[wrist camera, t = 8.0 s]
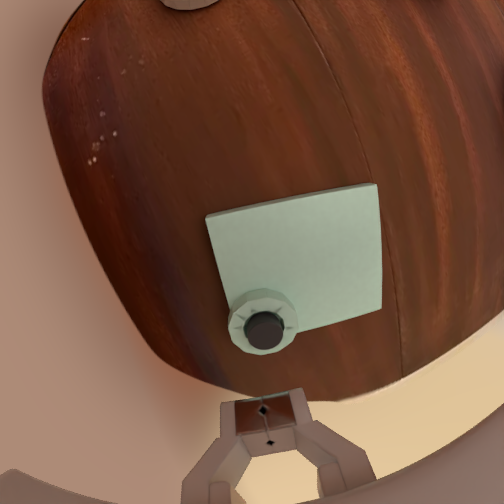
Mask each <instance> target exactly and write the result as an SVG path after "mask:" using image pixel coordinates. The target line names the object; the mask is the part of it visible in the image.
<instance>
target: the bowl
mask: <svg viewBox="0 0 504 504" xmlns="http://www.w3.org/2000/svg"><path fill="white" fill-rule="evenodd" d="M160 1H161V2H162V3H163V4H164V5H166V6H168V7H171V8H174V9H177V10H193V9H197V8H202V7H205V6H208V5H210V4H212V3H214V2H217V1H218V0H160Z"/></svg>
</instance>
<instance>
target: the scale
mask: <svg viewBox="0 0 504 504" xmlns="http://www.w3.org/2000/svg"><path fill="white" fill-rule="evenodd" d="M205 221H206V224H207V228H208V232H209V236H210V240H211V244H212V247H213V251H214V255H215V259H216V262H217V266H218V270H219V273H220V277H221V280H222V284H223V287H224V291H225V295H226V298H227V302H228V305H229V308H230V313H229V316H228V330H229V333H230V336H231V339H232V342H233V343H234V344H235V345H237V346H238V347H239V348H240V349H242V350H243V351H244V352H248V353H253V354H258V355H264V354H269V353H273V352H278V351H280V350H281V349H282V348H284V347H285V346H287V345H288V344H289V343H291V342H292V341H293V339H294V337H295V335H296V333H298V332H302V331H306V330H310V329H314V328H318V327H321V326H325V325H329V324H332V323H336V322H339V321H343V320H346V319H350V318H353V317H356V316H360V315H363V314H366V313H369V312H373V311H376V310H379V309H381V303H382V248H381V227H380V212H379V201H378V191H377V184H373V183H364V184H358V185H352V186H346V187H340V188H334V189H329V190H323V191H318V192H312V193H307V194H302V195H296V196H291V197H286V198H281V199H276V200H271V201H267V202H262V203H257V204H253V205H248V206H243V207H239V208H234V209H230V210H226V211H221V212H217V213H213V214H208V215H207V216H206V218H205ZM262 312H268V313H272V314H274V315H275V316H277V317H278V319H279V320H280V324H281V327H282V330H283V338H282V341H281V342H280V343H279V344H278V345H277V346H276V347H274V348H272V349H269V350H259V349H256V348H254V347H253V346H252V345H251V344H250V343H249V341H248V336H247V323H248V321H249V319H250V318H251V317H252V316H254V315H255V314H258V313H262Z"/></svg>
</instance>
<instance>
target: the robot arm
mask: <svg viewBox="0 0 504 504" xmlns="http://www.w3.org/2000/svg"><path fill="white" fill-rule="evenodd" d="M295 449H297V451H299V452H300V453H301V454H302V455H303V456H304V457H305V458H307V459H308V460H309V461H310V462H311V463H312V464H314V465H315V466H316V467H317V468H318V469H317V482H318V483H317V488H318V493H319V497H320V498H319V499H315V500H311V501H306V502H302V503H297V504H504V403H503V404H502V405H501V406H500V407H498V408H497V409H496V410H495V411H494V412H492V413H491V414H490V415H489V416H487V417H486V418H485V419H483V420H482V421H481V422H480V423H478V424H477V425H476V426H474V427H473V428H471V429H470V430H468V431H467V432H466V433H464V434H463V435H461V436H460V437H458V438H457V439H455V440H454V441H452V442H450V443H449V444H447V445H446V446H444V447H442V448H441V449H439V450H437V451H435V452H434V453H432V454H430V455H428V456H426V457H425V458H423V459H421V460H419V461H417V462H415V463H413V464H411V465H409V466H407V467H405V468H403V469H401V470H399V471H396V472H394V473H392V474H390V475H387V476H385V477H383V478H380V479H378V480H377V479H376V476H375V474H374V472H373V469H372V467H371V465H370V462H369V460H368V457H367V455H366V452H365V451H364V450H363V449H362V448H360V447H358V446H356V445H355V444H353V443H352V442H350V441H348V440H347V439H345V438H344V437H342V436H340V435H339V434H337V433H336V432H334V431H333V430H331V429H330V428H328V427H327V426H325V425H323V424H322V423H321V422H319V421H318V420H315V421H313V420H312V417H311V413H310V410H309V407H308V404H307V400H306V397H305V394H304V391H303V389H302V388H297V389H293V390H289V391H283V392H279V393H275V394H270V395H265V396H261V397H257V398H250V399H243V400H236V401H229V402H222V403H221V405H220V438H216V439H215V441H214V442H213V443H212V445H211V446H210V447H209V448H208V450H207V451H206V452H205V454H204V455H203V456H202V458H201V459H200V460H199V461H198V463H197V464H196V465H195V466H194V468H193V469H192V470H191V471H190V473H189V474H188V475H187V476H186V477H185V479H184V480H183V481H182V491H181V504H246V501H245V500H244V499H243V498H242V497H241V496H240V495H239V494H238V493H237V491H236V490H235V487H236V486H237V484H238V482H239V481H240V479H241V477H242V475H243V474H244V471H245V470H246V468H247V466H248V465H249V463H250V461H251V459H252V458H251V457H257V456H263V455H268V454H273V453H279V452H285V451H289V450H295ZM0 504H116V503H112V502H107V501H103V500H99V499H95V498H91V497H87V496H84V495H81V494H77V493H74V492H71V491H68V490H65V489H62V488H59V487H57V486H54V485H51V484H49V483H46V482H43V481H41V480H38V479H36V478H34V477H32V476H29V475H27V474H25V473H23V472H21V471H19V470H17V469H10V470H8V471H6V472H5V473H3V474H1V475H0Z"/></svg>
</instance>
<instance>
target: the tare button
mask: <svg viewBox="0 0 504 504" xmlns="http://www.w3.org/2000/svg"><path fill="white" fill-rule="evenodd" d="M247 336H248V341H249V343H250V344H251V345H252V346H253V347H254V348H256V349H259V350H269V349H272V348H274V347H276V346H277V345H278V344H279V343H280V342H281V341H282V338H283V330H282V327H281V324H280V320H279V319H278V317H277V316H275V315H274V314H272V313H268V312H262V313H258V314H255V315H254V316H252V317H251V318H250V319H249V321H248V323H247Z"/></svg>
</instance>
